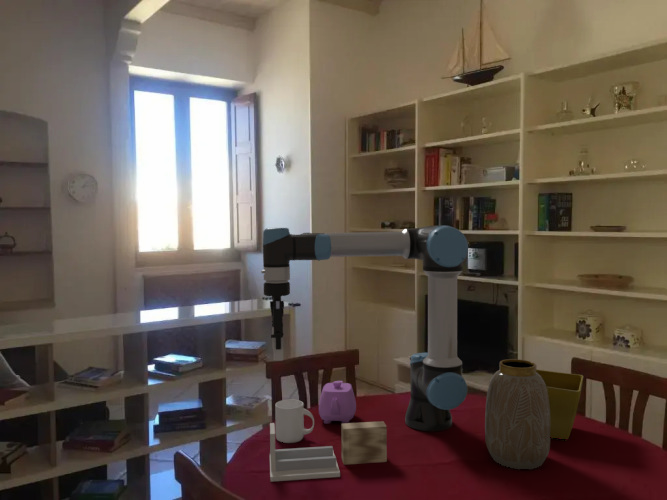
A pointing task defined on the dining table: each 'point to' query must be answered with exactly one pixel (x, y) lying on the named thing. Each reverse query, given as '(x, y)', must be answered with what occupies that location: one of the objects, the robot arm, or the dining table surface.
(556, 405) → the flower pot
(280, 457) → the white stand
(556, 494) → the dining table surface
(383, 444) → the door panel
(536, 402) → the vase
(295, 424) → the mug
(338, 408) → the teapot
